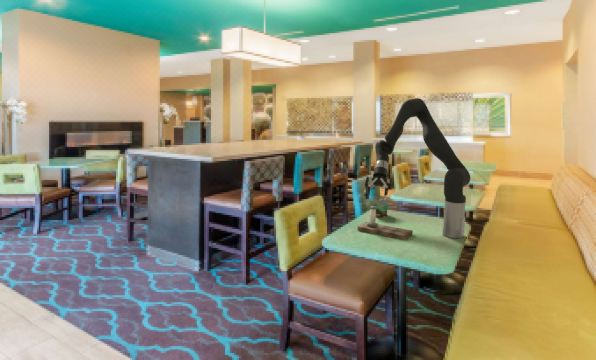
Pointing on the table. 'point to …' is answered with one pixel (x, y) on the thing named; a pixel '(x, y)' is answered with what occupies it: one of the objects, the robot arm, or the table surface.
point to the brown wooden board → (386, 231)
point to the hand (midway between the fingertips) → (376, 194)
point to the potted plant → (381, 206)
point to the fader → (373, 217)
